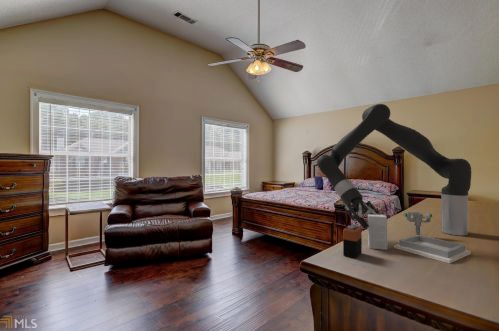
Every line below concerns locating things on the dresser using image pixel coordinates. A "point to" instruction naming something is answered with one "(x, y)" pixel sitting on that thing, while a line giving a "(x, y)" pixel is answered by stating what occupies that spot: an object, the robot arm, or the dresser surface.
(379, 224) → the skincare box
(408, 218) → the mechanical component
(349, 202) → the robot arm
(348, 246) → the battery
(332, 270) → the dresser surface
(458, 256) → the grey rimmed tray
